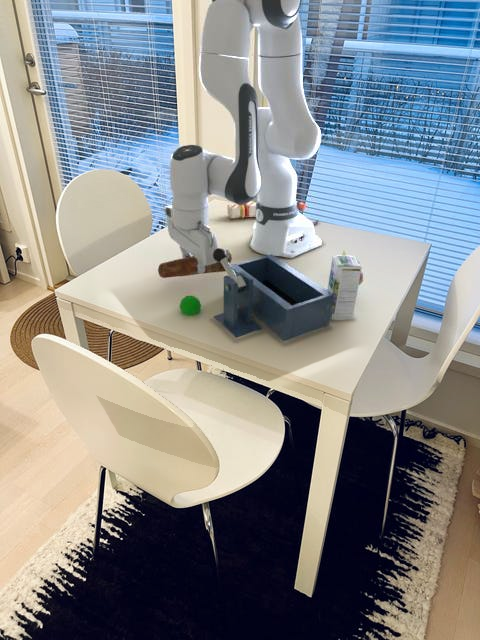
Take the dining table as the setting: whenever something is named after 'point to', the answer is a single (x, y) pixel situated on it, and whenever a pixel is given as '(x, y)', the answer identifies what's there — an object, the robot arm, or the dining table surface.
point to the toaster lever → (229, 268)
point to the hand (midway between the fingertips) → (193, 266)
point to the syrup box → (344, 286)
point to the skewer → (242, 210)
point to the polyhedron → (190, 305)
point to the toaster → (285, 297)
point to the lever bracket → (238, 318)
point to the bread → (189, 267)
